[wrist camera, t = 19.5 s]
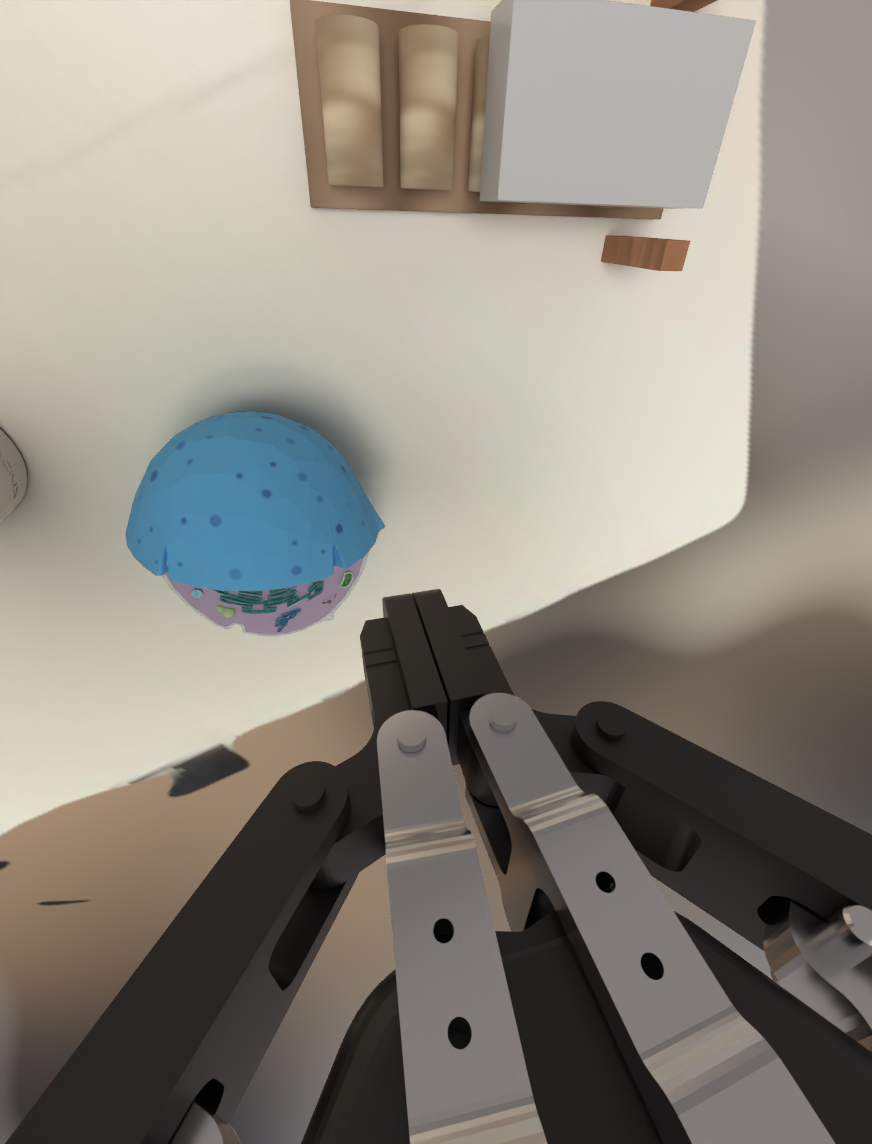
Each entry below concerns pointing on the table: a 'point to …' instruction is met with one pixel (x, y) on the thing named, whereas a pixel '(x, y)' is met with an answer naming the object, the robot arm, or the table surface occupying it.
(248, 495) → the educational model
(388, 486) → the table surface
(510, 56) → the slab
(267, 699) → the table surface
